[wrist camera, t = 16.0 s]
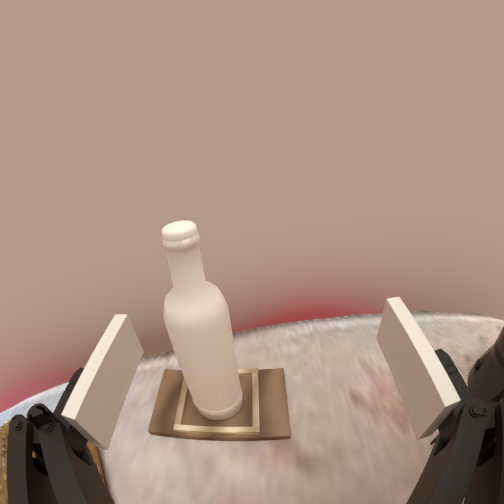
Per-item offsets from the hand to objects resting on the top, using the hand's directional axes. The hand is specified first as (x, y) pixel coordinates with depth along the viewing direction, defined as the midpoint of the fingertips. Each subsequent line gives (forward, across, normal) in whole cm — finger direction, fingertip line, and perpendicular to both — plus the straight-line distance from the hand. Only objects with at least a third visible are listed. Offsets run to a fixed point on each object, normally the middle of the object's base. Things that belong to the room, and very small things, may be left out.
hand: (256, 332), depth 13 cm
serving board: (+15, -8, -31) cm, 35 cm away
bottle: (+15, -8, -30) cm, 34 cm away
